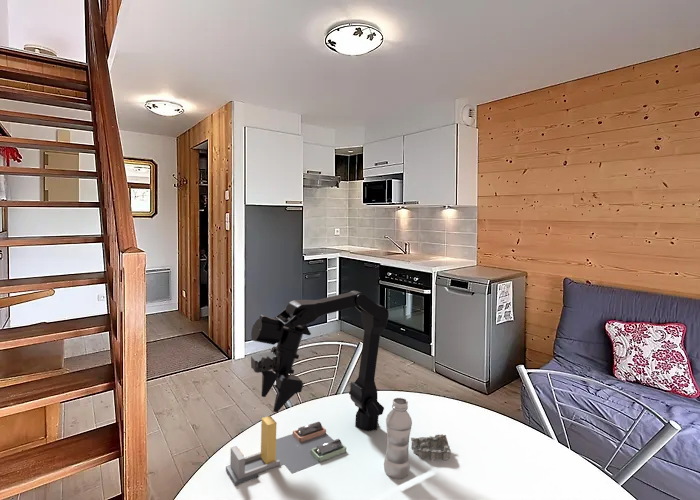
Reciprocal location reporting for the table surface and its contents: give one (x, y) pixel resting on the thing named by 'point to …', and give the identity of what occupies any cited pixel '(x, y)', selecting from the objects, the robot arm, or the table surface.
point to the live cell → (329, 447)
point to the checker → (282, 456)
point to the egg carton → (432, 442)
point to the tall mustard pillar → (268, 439)
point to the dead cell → (309, 429)
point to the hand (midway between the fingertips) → (269, 403)
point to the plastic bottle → (398, 440)
